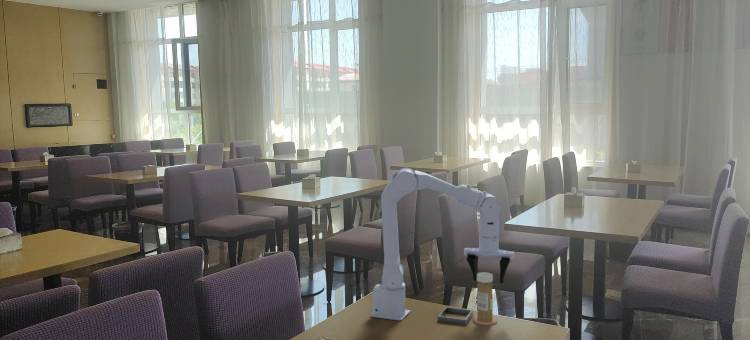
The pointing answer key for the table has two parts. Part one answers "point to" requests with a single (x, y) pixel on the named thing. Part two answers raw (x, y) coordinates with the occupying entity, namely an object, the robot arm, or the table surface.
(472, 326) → the table surface
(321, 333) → the table surface
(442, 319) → the square socket
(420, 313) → the table surface
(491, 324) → the terracotta coaster
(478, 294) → the sprinkles bottle
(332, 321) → the table surface
